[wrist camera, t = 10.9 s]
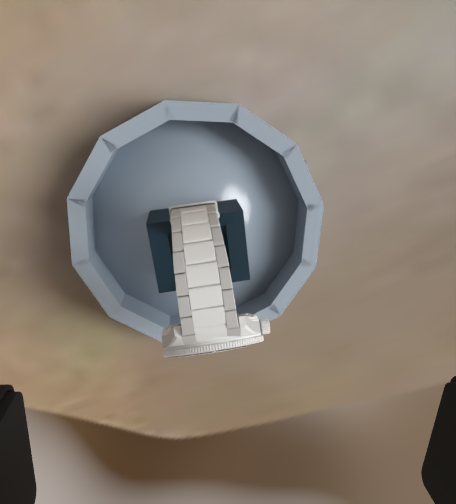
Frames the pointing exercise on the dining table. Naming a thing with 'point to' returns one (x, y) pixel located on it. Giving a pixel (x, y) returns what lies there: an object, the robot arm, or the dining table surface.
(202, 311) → the watch
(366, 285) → the dining table surface
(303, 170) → the dish
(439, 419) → the robot arm
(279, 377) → the dining table surface
